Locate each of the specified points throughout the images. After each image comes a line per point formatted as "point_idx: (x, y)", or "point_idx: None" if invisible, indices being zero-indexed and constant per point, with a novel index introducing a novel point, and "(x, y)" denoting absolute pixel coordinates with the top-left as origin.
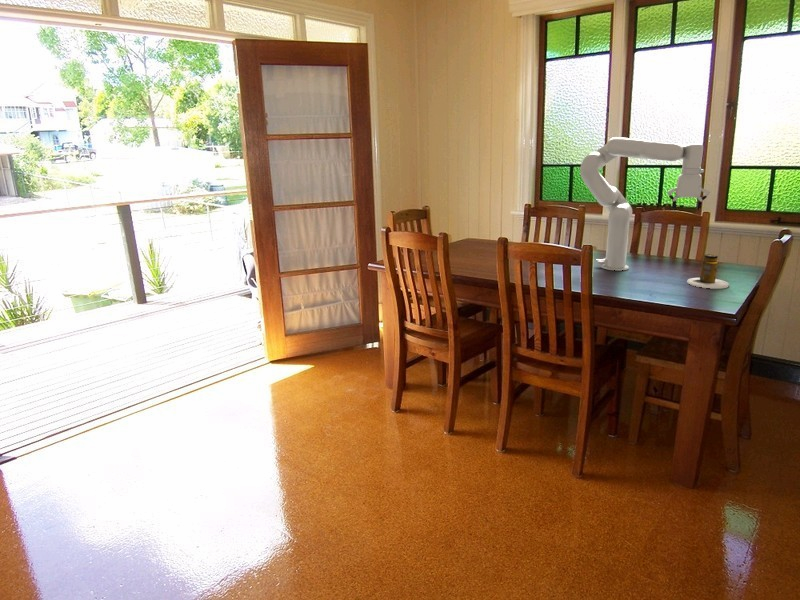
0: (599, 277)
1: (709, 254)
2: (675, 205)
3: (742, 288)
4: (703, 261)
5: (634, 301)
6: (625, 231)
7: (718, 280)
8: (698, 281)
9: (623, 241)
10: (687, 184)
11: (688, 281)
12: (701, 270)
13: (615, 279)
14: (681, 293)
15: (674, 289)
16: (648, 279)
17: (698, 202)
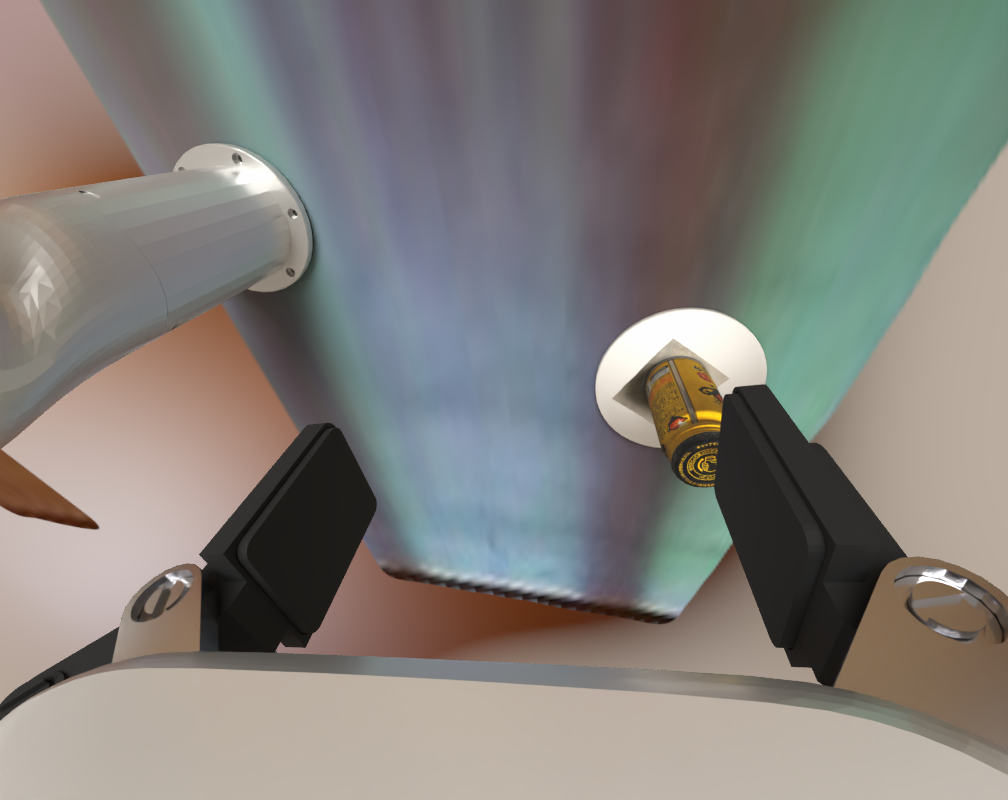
0: (290, 414)
1: (705, 448)
2: (340, 568)
3: (809, 399)
4: (664, 451)
5: (467, 588)
6: (118, 349)
7: (734, 343)
8: (638, 396)
9: (178, 320)
10: None
11: (598, 403)
12: (653, 420)
13: (347, 423)
14: (572, 511)
15: (550, 480)
16: (448, 384)
17: (778, 642)
